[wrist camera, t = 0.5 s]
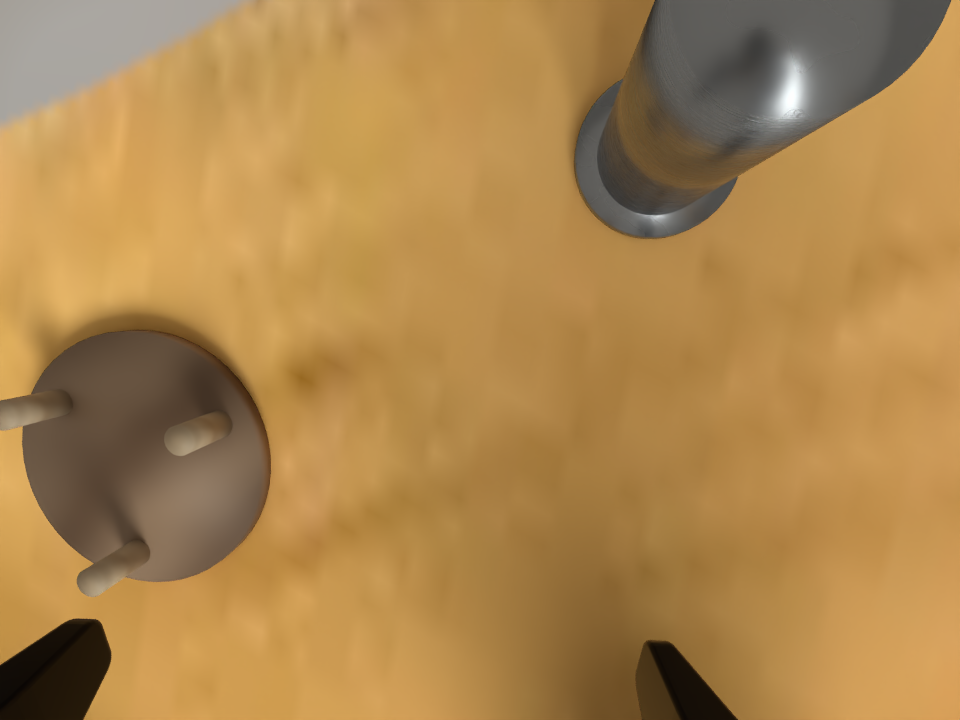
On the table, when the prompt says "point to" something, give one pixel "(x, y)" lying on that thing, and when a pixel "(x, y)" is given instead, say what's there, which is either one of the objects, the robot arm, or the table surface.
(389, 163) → the table surface
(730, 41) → the grey metal post
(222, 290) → the table surface
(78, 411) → the seat plate
